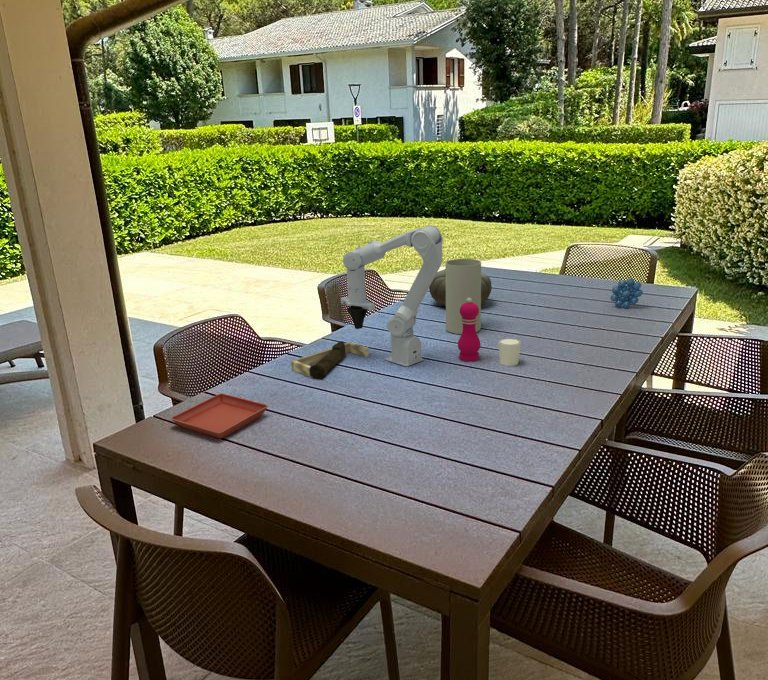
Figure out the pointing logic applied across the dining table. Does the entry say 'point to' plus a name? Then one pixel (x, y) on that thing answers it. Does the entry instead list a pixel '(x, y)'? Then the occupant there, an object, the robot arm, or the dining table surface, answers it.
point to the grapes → (626, 293)
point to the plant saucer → (220, 415)
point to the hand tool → (328, 361)
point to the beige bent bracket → (304, 363)
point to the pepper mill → (469, 332)
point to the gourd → (439, 287)
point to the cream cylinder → (509, 351)
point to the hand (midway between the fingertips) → (358, 328)
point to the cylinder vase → (462, 291)
